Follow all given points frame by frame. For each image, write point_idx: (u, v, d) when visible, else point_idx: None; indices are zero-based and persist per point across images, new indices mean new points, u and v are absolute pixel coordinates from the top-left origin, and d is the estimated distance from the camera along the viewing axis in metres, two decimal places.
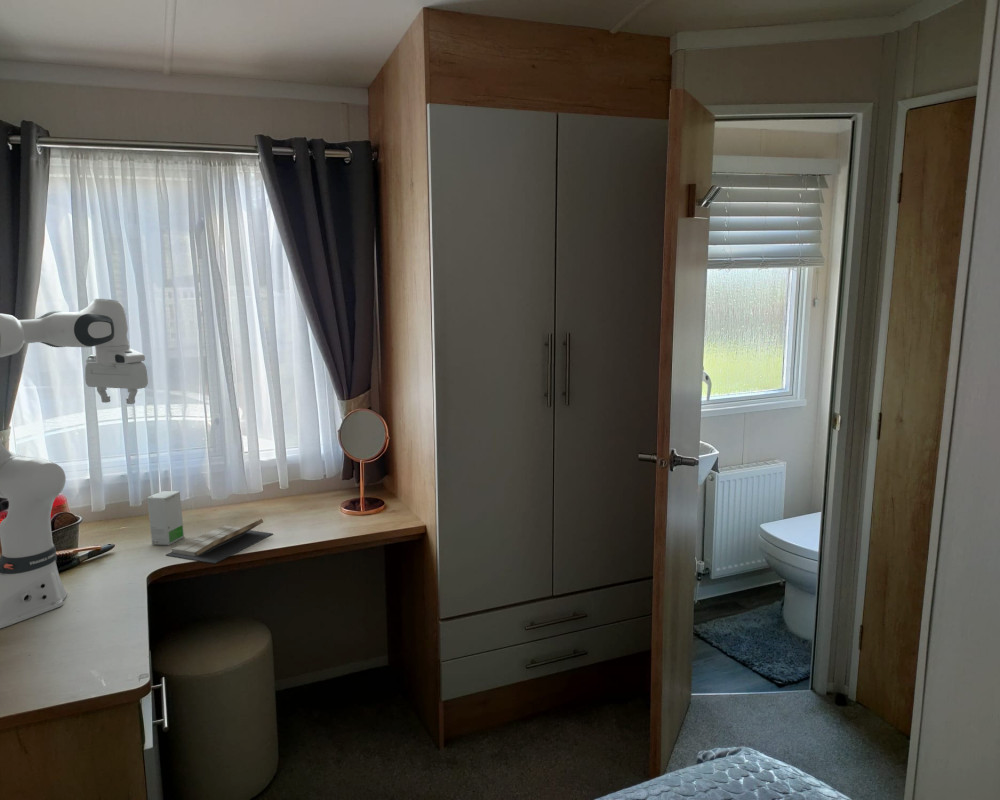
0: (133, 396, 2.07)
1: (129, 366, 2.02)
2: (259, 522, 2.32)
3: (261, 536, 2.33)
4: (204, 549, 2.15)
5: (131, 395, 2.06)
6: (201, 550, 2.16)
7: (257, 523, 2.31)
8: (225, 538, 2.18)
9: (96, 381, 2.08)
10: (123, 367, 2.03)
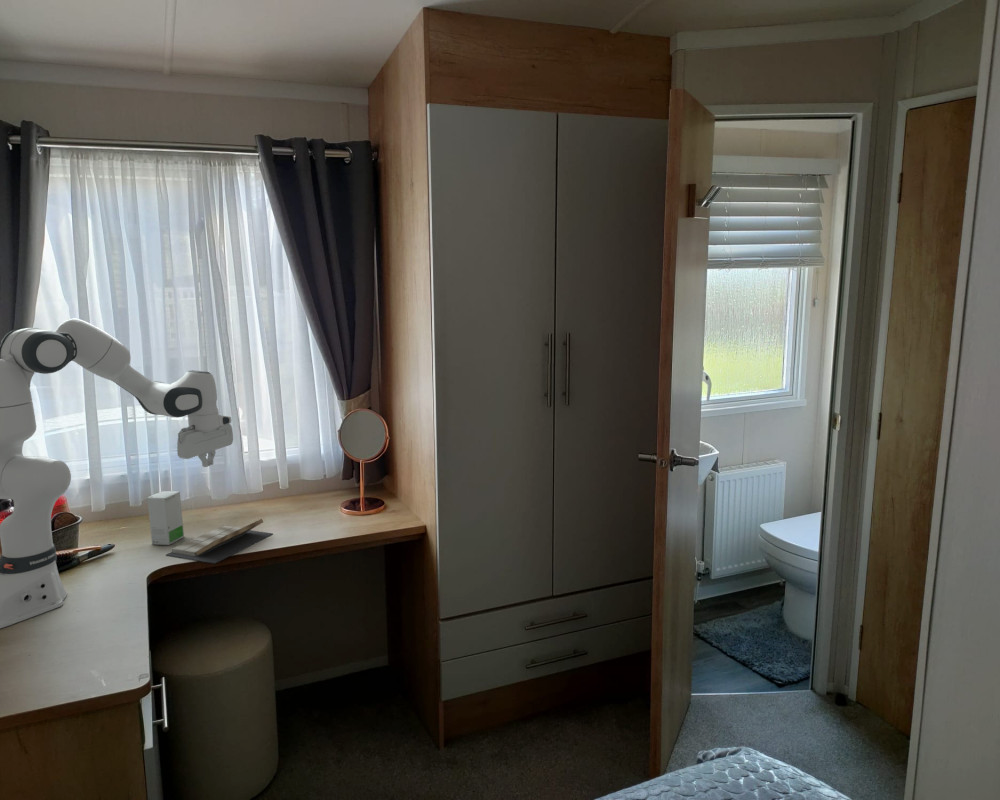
0: None
1: (230, 425, 2.28)
2: (259, 522, 2.32)
3: (261, 536, 2.33)
4: (204, 549, 2.15)
5: None
6: (201, 550, 2.16)
7: (257, 523, 2.31)
8: (225, 538, 2.18)
9: (197, 450, 2.17)
10: (225, 427, 2.27)
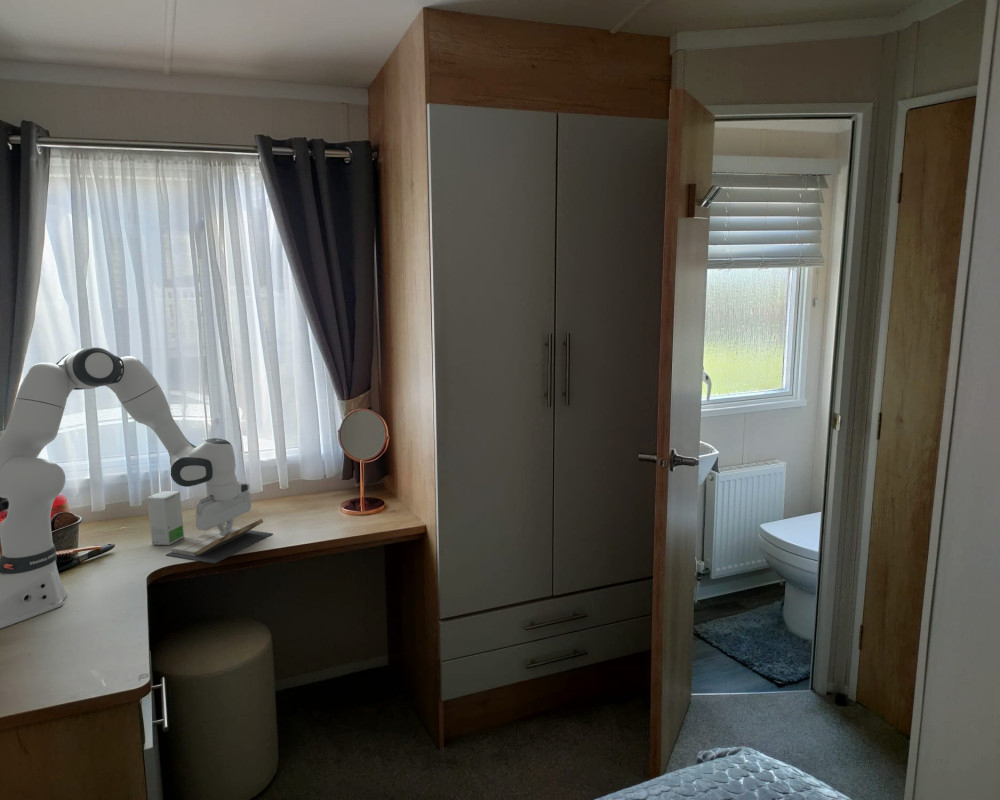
0: None
1: (248, 492, 2.25)
2: (259, 522, 2.32)
3: (261, 536, 2.33)
4: (204, 549, 2.15)
5: None
6: (201, 550, 2.16)
7: (257, 523, 2.31)
8: (225, 538, 2.18)
9: (215, 521, 2.14)
10: (243, 495, 2.24)
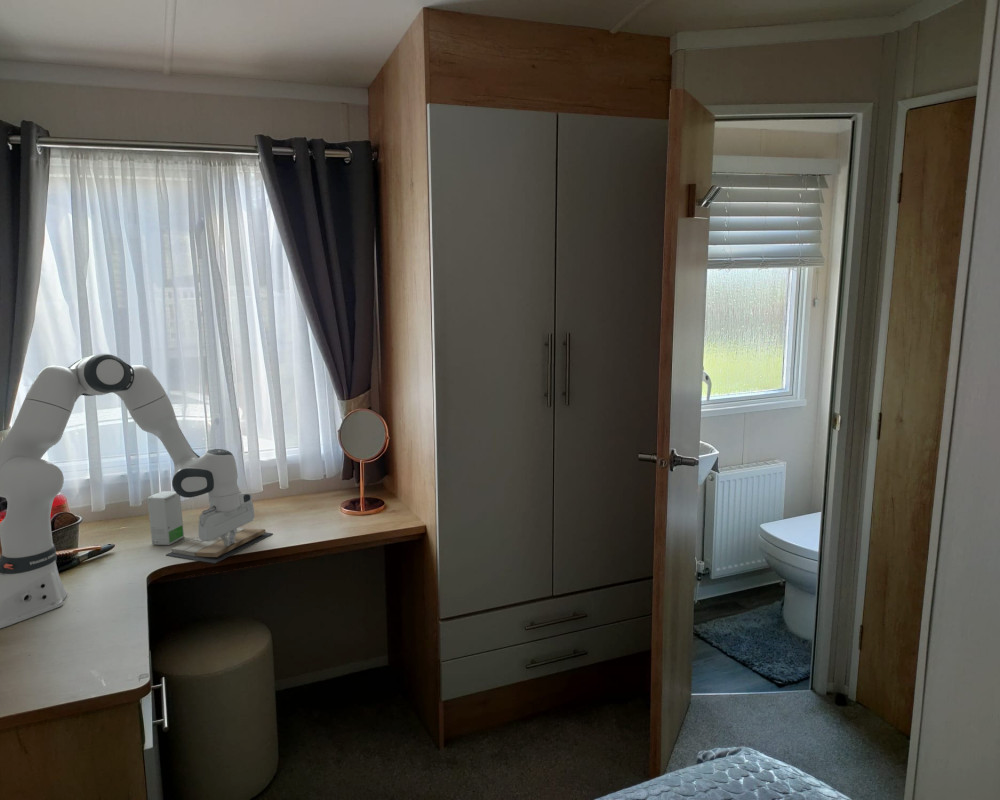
0: None
1: (251, 502, 2.26)
2: (262, 532, 2.32)
3: (261, 536, 2.33)
4: (205, 555, 2.15)
5: None
6: (202, 554, 2.16)
7: (260, 534, 2.32)
8: (228, 549, 2.18)
9: (218, 531, 2.14)
10: (246, 505, 2.24)
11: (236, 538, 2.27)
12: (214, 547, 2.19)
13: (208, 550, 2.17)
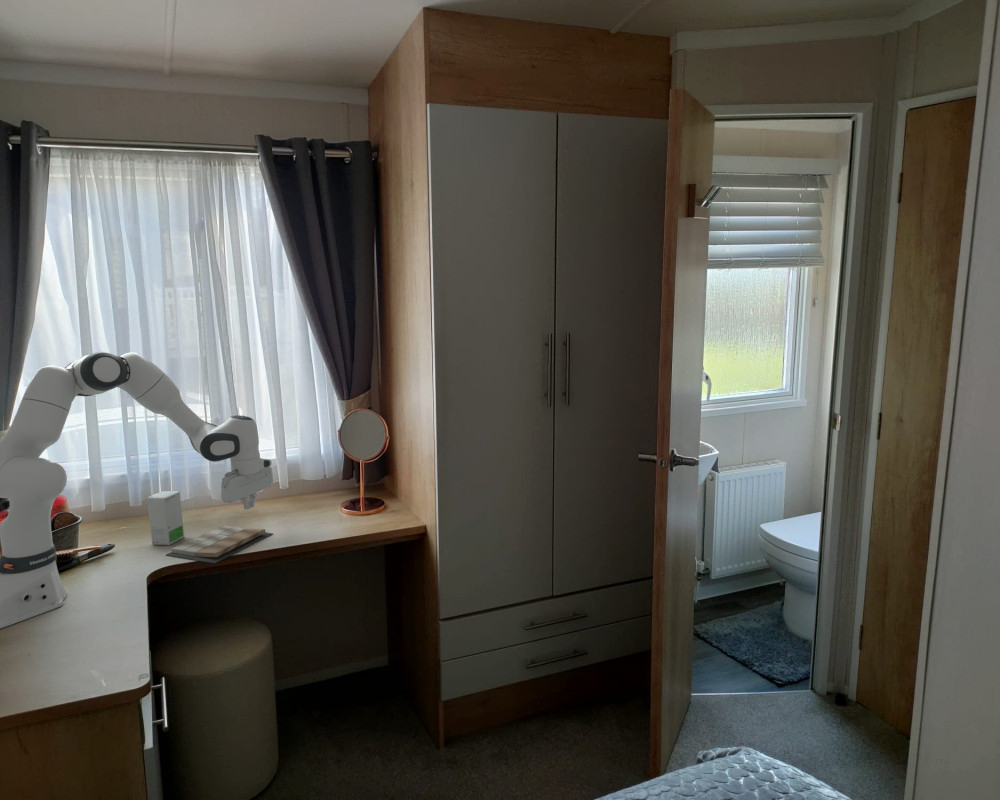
0: None
1: (270, 468, 2.34)
2: (262, 533, 2.32)
3: (261, 536, 2.33)
4: (205, 555, 2.15)
5: None
6: (202, 554, 2.16)
7: (260, 534, 2.32)
8: (228, 549, 2.18)
9: (240, 494, 2.23)
10: (265, 470, 2.33)
11: (236, 538, 2.27)
12: (214, 547, 2.19)
13: (208, 550, 2.17)
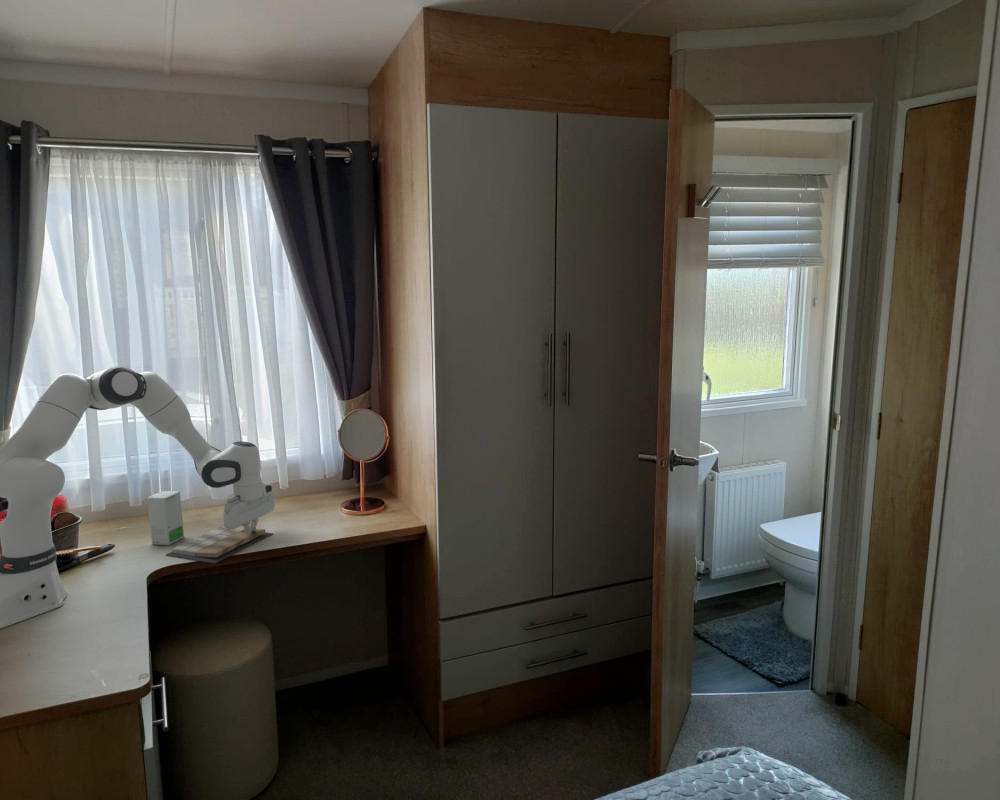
0: None
1: (272, 492, 2.36)
2: (262, 533, 2.32)
3: (261, 536, 2.33)
4: (205, 555, 2.15)
5: None
6: (202, 554, 2.16)
7: (260, 534, 2.32)
8: (228, 549, 2.18)
9: (242, 520, 2.24)
10: (267, 495, 2.34)
11: (236, 538, 2.27)
12: (214, 548, 2.19)
13: (208, 550, 2.17)
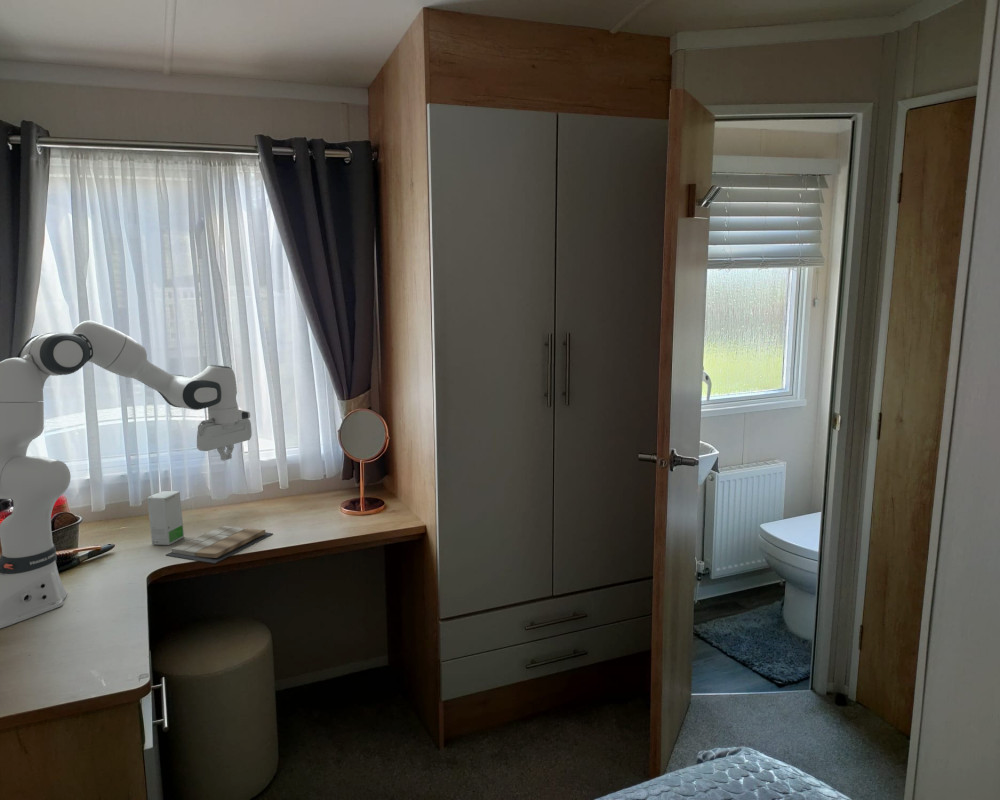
0: None
1: (248, 420, 2.32)
2: (262, 533, 2.32)
3: (261, 536, 2.33)
4: (205, 555, 2.15)
5: None
6: (202, 554, 2.16)
7: (260, 534, 2.32)
8: (228, 550, 2.18)
9: (216, 443, 2.20)
10: (244, 422, 2.30)
11: (236, 538, 2.27)
12: (214, 548, 2.19)
13: (208, 550, 2.17)
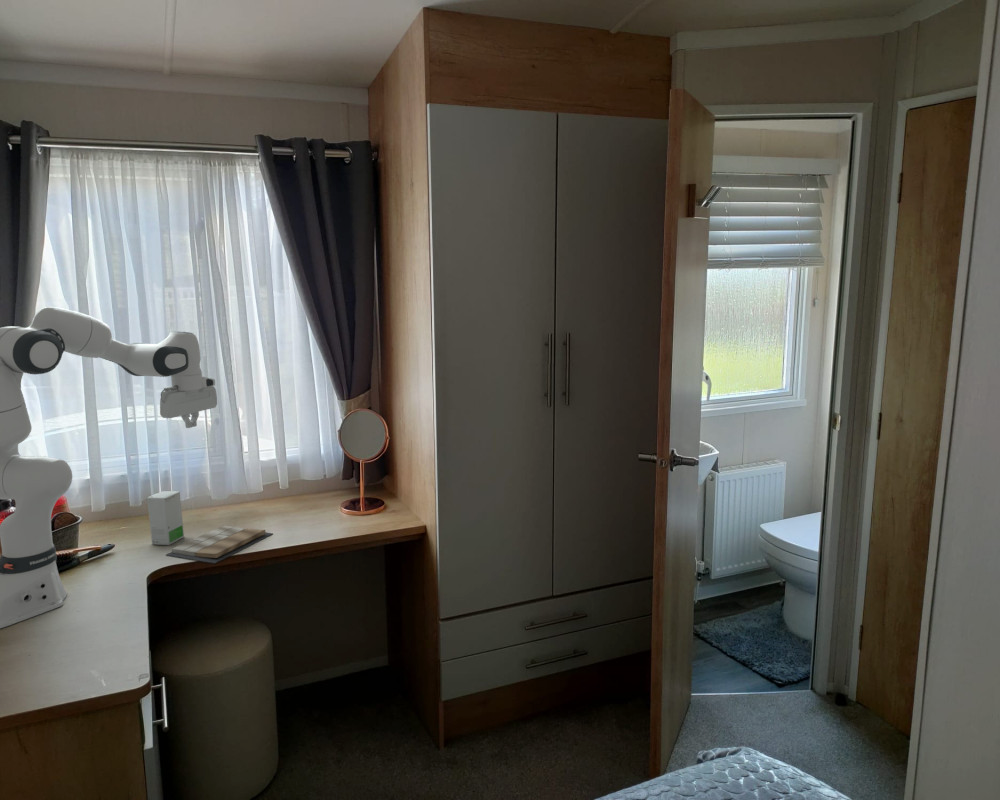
0: None
1: (214, 388, 2.30)
2: (262, 533, 2.32)
3: (261, 536, 2.33)
4: (205, 555, 2.15)
5: None
6: (202, 554, 2.16)
7: (260, 534, 2.32)
8: (228, 550, 2.18)
9: (180, 410, 2.18)
10: (209, 390, 2.28)
11: (236, 538, 2.27)
12: (214, 548, 2.19)
13: (208, 550, 2.17)
